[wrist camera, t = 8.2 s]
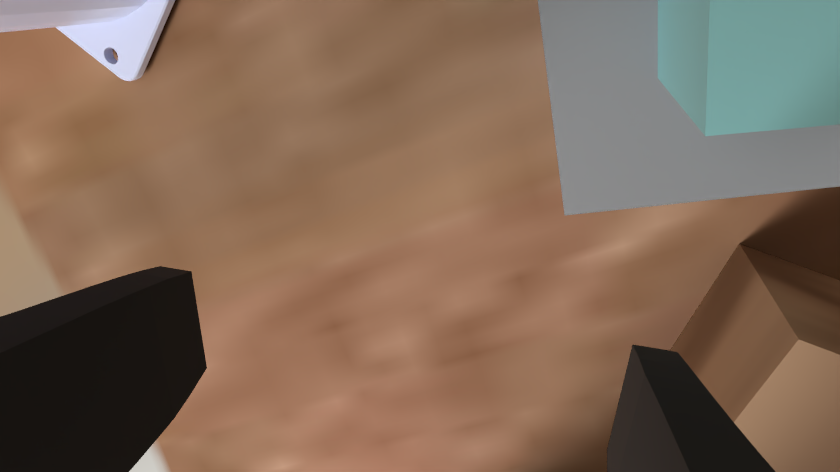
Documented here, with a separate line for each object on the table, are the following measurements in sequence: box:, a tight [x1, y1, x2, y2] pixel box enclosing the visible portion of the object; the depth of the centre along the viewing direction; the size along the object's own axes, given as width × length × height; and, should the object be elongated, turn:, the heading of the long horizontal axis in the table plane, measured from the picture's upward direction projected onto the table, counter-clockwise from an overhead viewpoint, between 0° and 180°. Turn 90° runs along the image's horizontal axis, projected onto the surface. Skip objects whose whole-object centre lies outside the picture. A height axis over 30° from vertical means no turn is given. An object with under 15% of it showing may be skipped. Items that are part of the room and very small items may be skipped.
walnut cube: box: [670, 244, 840, 472], centre depth 15 cm, size 5×5×5 cm
